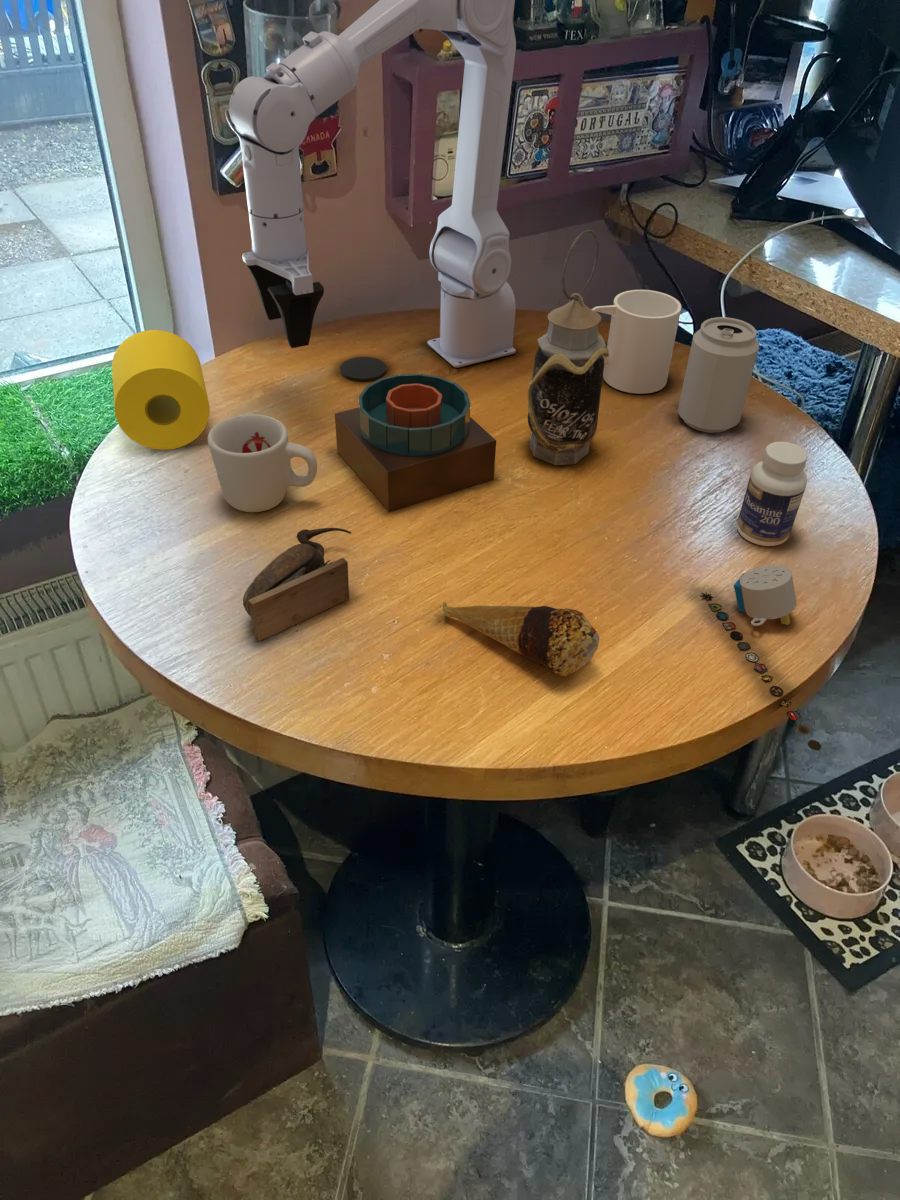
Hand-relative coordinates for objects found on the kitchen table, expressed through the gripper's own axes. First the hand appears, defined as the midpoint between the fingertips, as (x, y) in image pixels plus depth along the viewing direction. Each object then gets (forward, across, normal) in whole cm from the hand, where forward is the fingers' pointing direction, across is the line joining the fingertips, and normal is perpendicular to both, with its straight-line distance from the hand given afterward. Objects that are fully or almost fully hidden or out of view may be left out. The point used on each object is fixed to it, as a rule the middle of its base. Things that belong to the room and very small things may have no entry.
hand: (287, 331), depth 107 cm
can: (+10, +23, +45) cm, 51 cm away
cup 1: (+10, +17, -9) cm, 21 cm away
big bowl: (+5, +17, +8) cm, 19 cm away
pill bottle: (+10, +43, +36) cm, 57 cm away
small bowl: (+5, +17, +8) cm, 19 cm away
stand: (+10, +17, +8) cm, 21 cm away
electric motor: (+10, +51, +26) cm, 58 cm away
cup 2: (+10, +10, +40) cm, 43 cm away
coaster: (+10, -6, +11) cm, 16 cm away
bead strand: (+10, +58, +23) cm, 64 cm away
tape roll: (+5, +3, -16) cm, 17 cm away
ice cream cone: (+9, +41, 0) cm, 42 cm away
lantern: (+10, +21, +24) cm, 34 cm away
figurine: (+8, +36, -10) cm, 38 cm away
